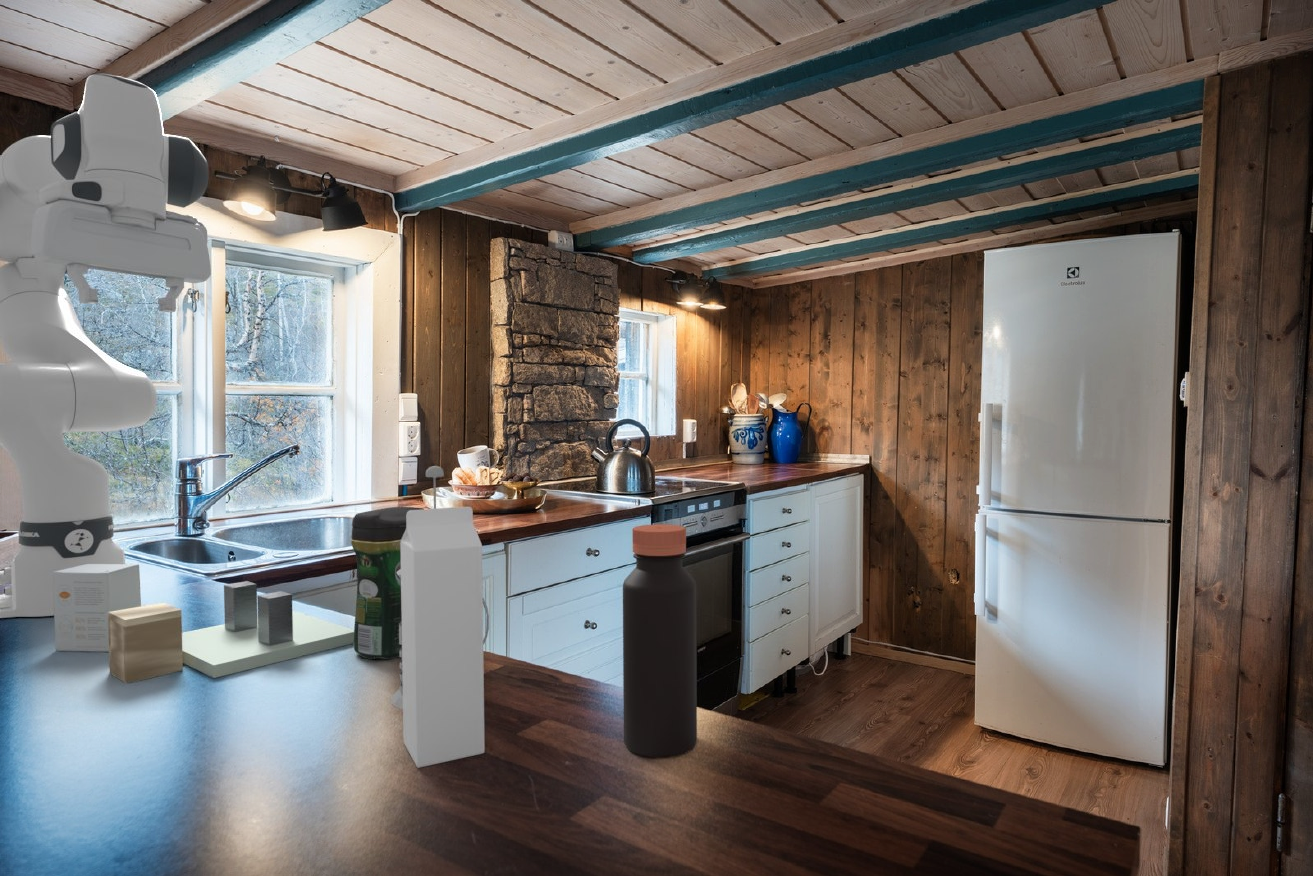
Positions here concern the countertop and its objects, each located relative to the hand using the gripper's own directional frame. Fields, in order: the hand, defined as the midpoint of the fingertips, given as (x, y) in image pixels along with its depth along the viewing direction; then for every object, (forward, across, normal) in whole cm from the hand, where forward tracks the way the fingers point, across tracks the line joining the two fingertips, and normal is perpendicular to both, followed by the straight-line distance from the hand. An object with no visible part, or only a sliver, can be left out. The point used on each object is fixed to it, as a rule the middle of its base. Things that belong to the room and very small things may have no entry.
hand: (129, 307), depth 102 cm
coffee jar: (+45, -16, +32) cm, 57 cm away
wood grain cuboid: (+45, +5, +13) cm, 47 cm away
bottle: (+46, -8, +76) cm, 89 cm away
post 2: (+45, -7, +19) cm, 50 cm away
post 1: (+45, -8, +9) cm, 47 cm away
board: (+45, -8, +14) cm, 48 cm away
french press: (+46, -7, +50) cm, 68 cm away
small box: (+45, +3, -4) cm, 45 cm away
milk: (+46, +2, +59) cm, 75 cm away
